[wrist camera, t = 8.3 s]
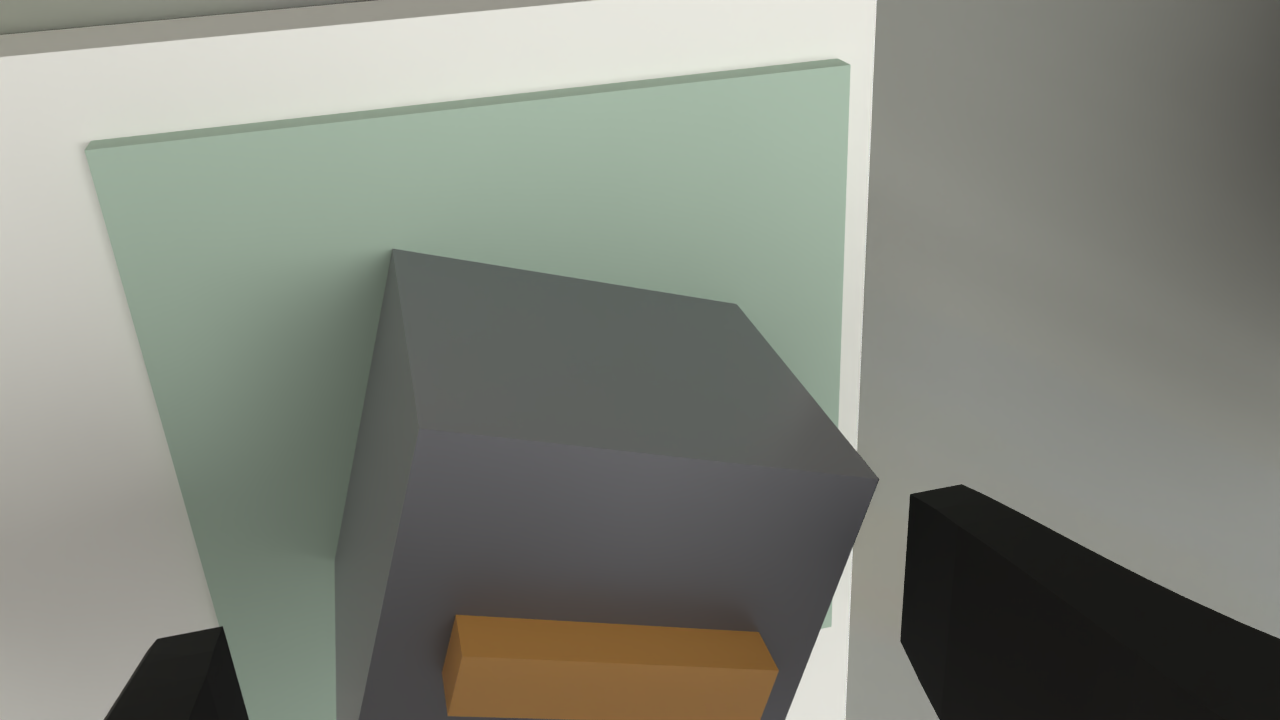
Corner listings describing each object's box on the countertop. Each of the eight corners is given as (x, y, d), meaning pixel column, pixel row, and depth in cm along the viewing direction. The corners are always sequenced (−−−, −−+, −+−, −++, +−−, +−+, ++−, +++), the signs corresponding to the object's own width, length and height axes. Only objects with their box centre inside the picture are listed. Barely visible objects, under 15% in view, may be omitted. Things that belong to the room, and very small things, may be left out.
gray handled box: (736, 304, 15) (906, 512, 11) (648, 583, 17) (763, 862, 12) (391, 248, 14) (424, 463, 9) (334, 561, 15) (338, 869, 11)
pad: (822, 611, 19) (831, 626, 18) (255, 730, 17) (254, 750, 16) (837, 58, 14) (850, 64, 14) (90, 140, 13) (84, 150, 12)
